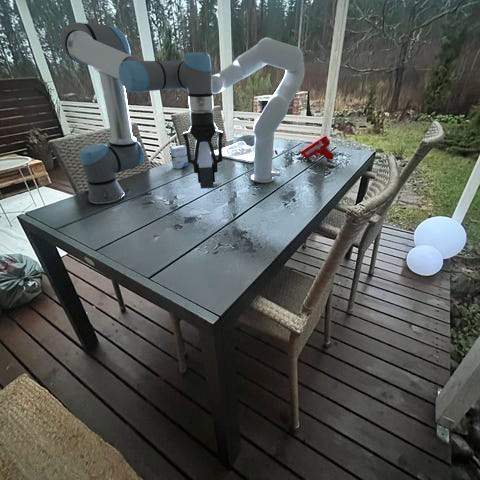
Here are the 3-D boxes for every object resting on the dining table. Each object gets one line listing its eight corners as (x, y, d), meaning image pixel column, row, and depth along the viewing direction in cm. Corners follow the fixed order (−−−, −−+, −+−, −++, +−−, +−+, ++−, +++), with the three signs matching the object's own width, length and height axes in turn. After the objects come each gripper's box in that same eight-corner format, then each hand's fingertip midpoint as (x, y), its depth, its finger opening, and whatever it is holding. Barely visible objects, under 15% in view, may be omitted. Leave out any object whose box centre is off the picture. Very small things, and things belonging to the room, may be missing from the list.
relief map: (251, 162, 170) (251, 154, 168) (209, 154, 188) (209, 146, 185) (273, 153, 189) (273, 145, 186) (233, 146, 206) (233, 139, 204)
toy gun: (337, 154, 172) (326, 134, 168) (337, 156, 169) (325, 135, 165) (312, 169, 182) (300, 150, 178) (311, 171, 179) (299, 152, 175)
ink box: (184, 164, 169) (181, 144, 163) (188, 165, 166) (186, 146, 160) (172, 167, 164) (169, 147, 158) (176, 169, 161) (174, 148, 155)
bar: (200, 145, 146) (199, 131, 142) (209, 145, 146) (208, 130, 142) (200, 188, 95) (198, 167, 91) (213, 187, 95) (212, 167, 91)
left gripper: (172, 113, 82) (181, 186, 95) (230, 112, 84) (231, 183, 97) (174, 110, 89) (182, 178, 101) (227, 109, 91) (229, 176, 103)
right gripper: (183, 106, 127) (188, 146, 137) (219, 105, 128) (221, 145, 138) (184, 104, 133) (188, 143, 143) (218, 103, 135) (220, 141, 144)
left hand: (206, 181), depth 99 cm, fingers closed on bar, 4 cm apart
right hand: (204, 143), depth 140 cm, fingers closed on bar, 4 cm apart
